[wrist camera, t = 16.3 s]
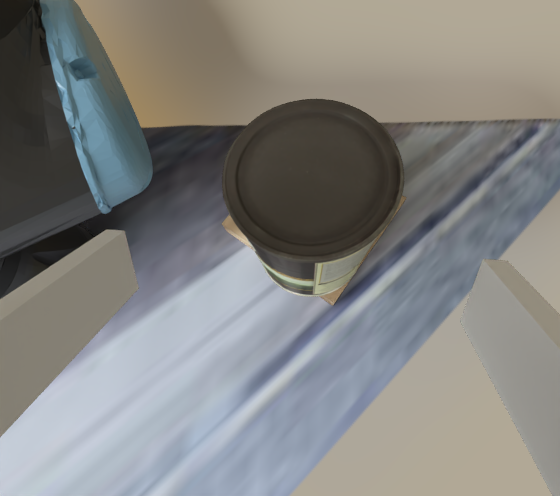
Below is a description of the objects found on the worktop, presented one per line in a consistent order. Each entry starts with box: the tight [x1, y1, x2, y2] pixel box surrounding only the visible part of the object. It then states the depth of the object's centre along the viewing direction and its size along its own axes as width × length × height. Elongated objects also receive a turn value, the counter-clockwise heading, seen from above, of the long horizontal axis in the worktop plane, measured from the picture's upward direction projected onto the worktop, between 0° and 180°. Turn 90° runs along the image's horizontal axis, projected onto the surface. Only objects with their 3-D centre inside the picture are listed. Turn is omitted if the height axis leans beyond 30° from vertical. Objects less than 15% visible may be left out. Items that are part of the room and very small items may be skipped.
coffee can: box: [222, 99, 404, 297], centre depth 24 cm, size 10×10×14 cm
